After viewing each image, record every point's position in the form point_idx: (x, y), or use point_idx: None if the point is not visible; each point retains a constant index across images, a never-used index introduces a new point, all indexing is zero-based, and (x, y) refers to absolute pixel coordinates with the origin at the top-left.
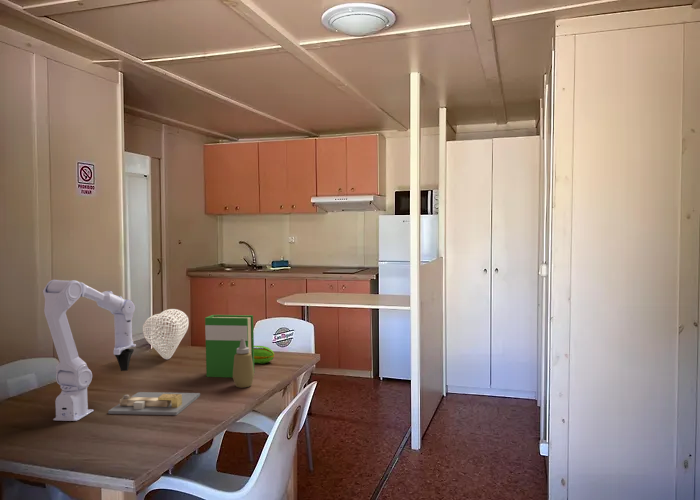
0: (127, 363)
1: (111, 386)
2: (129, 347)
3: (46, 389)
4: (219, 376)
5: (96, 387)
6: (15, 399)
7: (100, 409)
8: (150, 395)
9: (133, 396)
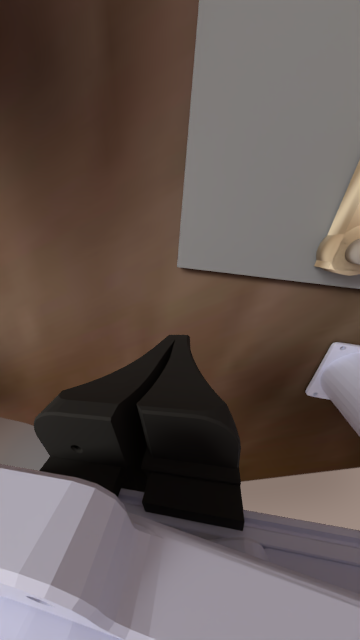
0: (189, 353)
1: (107, 365)
2: (197, 553)
3: None
4: None
5: None
6: None
7: (316, 329)
8: (225, 195)
9: (228, 265)
